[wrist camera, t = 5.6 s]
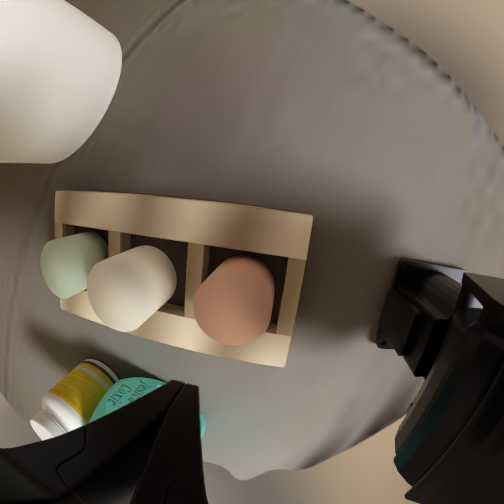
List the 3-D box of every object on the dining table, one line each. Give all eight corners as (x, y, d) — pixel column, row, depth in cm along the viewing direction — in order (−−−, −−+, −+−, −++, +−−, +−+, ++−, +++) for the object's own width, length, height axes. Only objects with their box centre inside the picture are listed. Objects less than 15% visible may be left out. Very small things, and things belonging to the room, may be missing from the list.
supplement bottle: (77, 350, 22) (15, 402, 12) (119, 365, 21) (57, 432, 12) (89, 390, 23) (39, 443, 13) (129, 406, 22) (82, 470, 13)
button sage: (111, 234, 18) (75, 244, 14) (111, 286, 19) (79, 305, 15) (74, 228, 18) (39, 236, 14) (75, 276, 19) (43, 291, 15)
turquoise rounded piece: (214, 404, 21) (188, 475, 13) (189, 444, 22) (165, 502, 15) (132, 361, 21) (82, 417, 13) (122, 409, 23) (85, 458, 15)
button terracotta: (279, 260, 17) (277, 280, 13) (270, 319, 18) (265, 351, 14) (215, 250, 17) (195, 267, 13) (210, 308, 18) (191, 337, 14)
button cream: (178, 250, 16) (146, 267, 12) (175, 310, 17) (148, 340, 13) (123, 241, 16) (84, 254, 13) (124, 297, 17) (90, 321, 13)
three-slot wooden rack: (311, 214, 16) (313, 216, 15) (284, 355, 19) (284, 367, 17) (67, 190, 18) (55, 190, 17) (71, 302, 20) (61, 308, 19)
